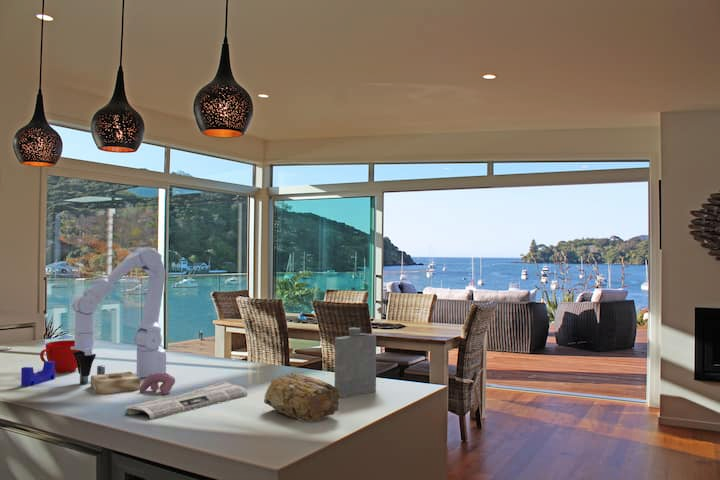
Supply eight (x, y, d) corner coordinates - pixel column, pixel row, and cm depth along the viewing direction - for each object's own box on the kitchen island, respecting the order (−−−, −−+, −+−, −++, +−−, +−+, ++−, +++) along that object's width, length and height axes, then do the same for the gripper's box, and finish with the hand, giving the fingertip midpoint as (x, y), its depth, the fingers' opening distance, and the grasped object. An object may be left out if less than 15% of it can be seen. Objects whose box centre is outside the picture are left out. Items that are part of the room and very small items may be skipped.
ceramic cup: (26, 374, 217) (27, 345, 217) (66, 366, 233) (66, 339, 233) (54, 377, 212) (55, 348, 212) (93, 369, 228) (93, 341, 228)
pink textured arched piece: (172, 397, 191) (179, 375, 194) (164, 393, 187) (171, 370, 190) (145, 395, 194) (152, 373, 197) (137, 391, 190) (144, 368, 193)
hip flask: (339, 399, 183) (339, 330, 184) (330, 396, 186) (330, 329, 187) (378, 391, 194) (378, 326, 195) (368, 389, 197) (369, 325, 198)
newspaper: (149, 422, 160) (150, 408, 160) (121, 414, 167) (121, 401, 167) (250, 396, 188) (250, 384, 188) (222, 390, 196) (222, 379, 196)
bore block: (130, 382, 205) (130, 371, 205) (139, 389, 195) (139, 378, 195) (90, 386, 198) (91, 375, 198) (98, 394, 188) (99, 382, 188)
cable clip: (42, 379, 211) (42, 361, 211) (54, 379, 210) (54, 361, 210) (17, 386, 199) (17, 367, 199) (29, 387, 198) (29, 368, 198)
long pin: (87, 382, 204) (87, 358, 204) (88, 384, 202) (88, 359, 202) (79, 383, 203) (79, 358, 203) (80, 384, 201) (80, 359, 201)
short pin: (103, 378, 211) (104, 365, 211) (105, 379, 209) (105, 366, 209) (96, 379, 210) (96, 366, 210) (97, 380, 208) (97, 367, 208)
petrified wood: (346, 416, 163) (340, 379, 161) (305, 436, 155) (299, 398, 153) (304, 400, 178) (298, 366, 176) (265, 417, 170) (258, 382, 168)
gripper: (67, 331, 207) (66, 372, 207) (75, 336, 195) (74, 379, 194) (90, 329, 211) (89, 370, 210) (99, 334, 199) (98, 377, 198)
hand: (83, 374), depth 203 cm, fingers open, 4 cm apart
